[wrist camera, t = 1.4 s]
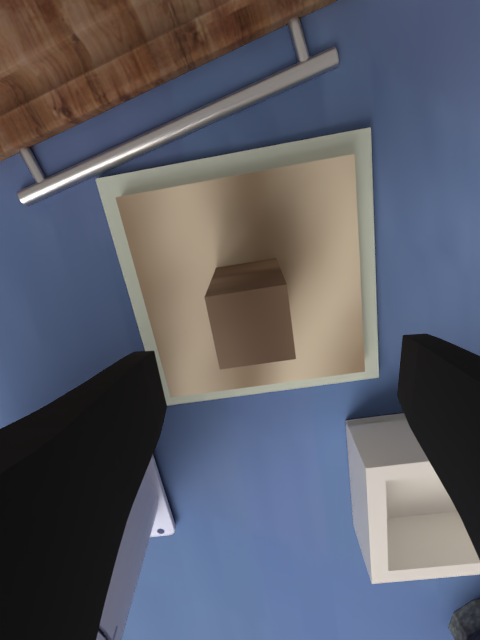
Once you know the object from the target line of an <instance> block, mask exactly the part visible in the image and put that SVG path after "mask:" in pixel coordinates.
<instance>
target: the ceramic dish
mask: <svg viewBox="0 0 480 640" xmlns="http://www.w3.org/2000/svg"><path fill="white" fill-rule="evenodd" d="M345 421H346V434H347V448H348V461H349V475H350V488H351V501H352V515H353V525H354V529H355V532H356V535H357V538H358V541H359V544H360V548H361V551H362V554H363V557H364V560H365V564H366V567H367V570H368V573H369V576H370V580H371V583H372V584H376V583H387V582H399V581H410V580H421V579H433V578H444V577H455V576H467V575H478V574H480V560H479V557H478V555H477V553H476V551H475V548H474V546H473V544H472V542H471V540H470V537H469V535H468V533H467V531H466V528H465V526H464V524H463V522H462V520H461V517H460V515H459V514H458V512H457V510H456V508H455V506H454V504H453V502H452V500H451V498H450V497H449V495H448V493H447V491H446V490H445V488H444V486H443V484H442V483H441V481H440V479H439V477H438V476H437V474H436V472H435V471H434V469H433V467H432V465H431V464H430V462H429V460H428V458H427V457H426V455H425V453H424V451H423V450H422V448H421V446H420V444H419V443H418V441H417V439H416V437H415V436H414V434H413V432H412V430H411V428H410V426H409V424H408V422H407V419H406V417H405V415H404V413H400V414H392V415H384V416H376V417H368V418H360V419H352V420H345Z"/></svg>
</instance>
